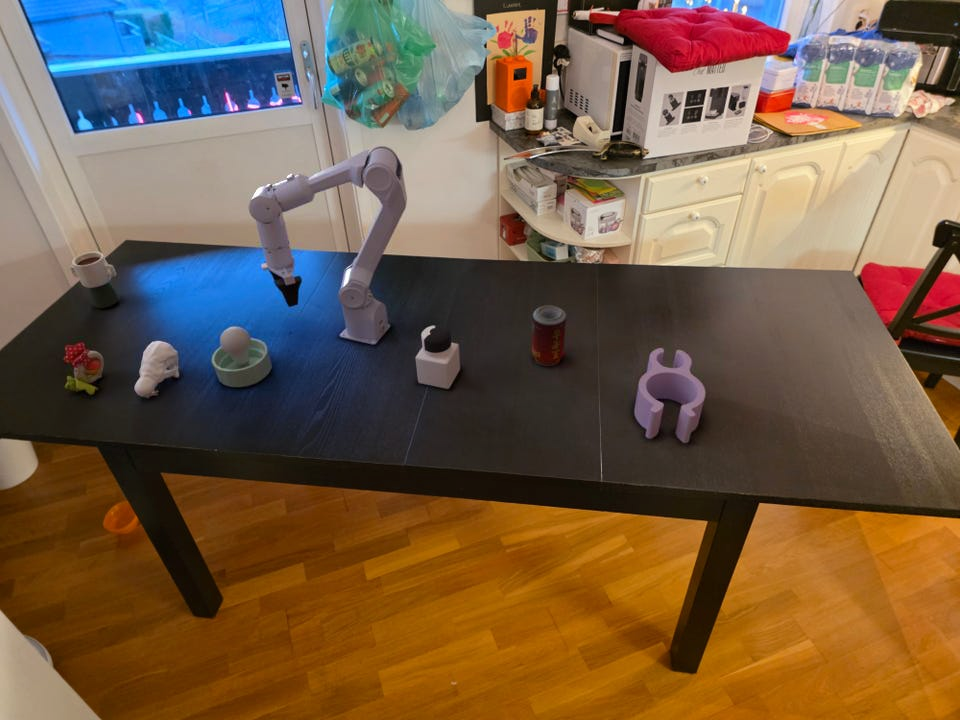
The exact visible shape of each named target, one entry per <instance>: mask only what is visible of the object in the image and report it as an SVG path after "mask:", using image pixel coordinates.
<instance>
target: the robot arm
mask: <svg viewBox="0 0 960 720" xmlns="http://www.w3.org/2000/svg"><path fill="white" fill-rule="evenodd" d="M403 169H404V168H403V164H402V162H401V159H399V157H398V155H397V153H396V152H395V151H394V150H393V149H392V148H390V147H389V146H386V145H378V146H375V147H373V148H371V150H369V149H366V150H362V151H361V152H359V153H357V154H355V155H353V156H351V157H349V158H347V159H345V160H342V161H340V162H339V163H337V164H334V165H332V166H330V167H328V168H326V169H323V170H321V171H319V172H317V173H315V174H314V175H313V174H312V175H311V176H307V175H305V174H301V173H299V174H297V175H295V174H294V173H291V174H288V175H287V176H286V179H285V180H282V181H279V182H277V183H275V184H272V183H269V184H267V185H263V186H261V187H258V188H257V189H256V191H255V192H254V193H253V196H252V198H251V199H250V201H249V204H248V212H249V214H250V216H251V217H252V218H253V219H254V220H255V223H256V229H257V232H258V236H259V239H260V244H261V247H262V248H261V249H262V252H263V255H264V259H265V261H264V262H262V263H261V264H260V268H261V269H262V271H268V272H269V274H270V275H271V276H272V279H273V283H274V285H275V287H276V288H277V289H278V291H279V292H281V294H282V296H283V298H284V301H285V303H286V305H287V306H288V308H291V307H296V306H298V305H299V294H300V293H299V291H300V287H301V284H302V282H303V279H302V276H301V275H297V276H295V275H294V272H295V263H296V260H295V258H294V257H293V252H292V248H291V243H290V239H289V234H288V230H287V226H286V221H285V218H284V214H283V213H286V212H289V211H291V210H294V209H297V208H299V207H301V206H304V205H306V204H309V203H312V202H313V201H314V199H315V196H316V194H317V193H321V192H324V191H326V190H330V189H333V188H336V187H338V186H341V185H344V184H347V183H351V184H353V185H355V186H356V187H358V188H360V189H363V188H364V186H365V187H366V188H367V189H368V190H369V191H370V192H371V193H372V194H373V195H374V196H375V197H376V198H377V199H378V200H379V202H380V207H379V209H378V211H377V213H376V215H375V217H374V219H373V222H372V224H371V225H370V228H369V230H368V232H367V234H366V237H365V239H364V241H363V243H362V245H361V247H360V249H359V251H358V254H357V255H356V257H355V258H354V259H353V261H352V263H351V264H350V265H348V266H347V267H346V268H345V269H344V271H343V273H342V281H341V285H340V289H339V290H338V293H337V296H338V298H337V299H338V301H339V303H340V304H341V308H342V313H343V319H344V324H345V329H343V330H342V332H341V333H340V334H339V337H340V338H343V339H346V340H351V341H356V342H359V343H365V344H369V345H373V346H374V345H376V344H377V343H378V342H379V341H380V340H381V338H382V337H383V336H384V335H385V334H386V332H388V330H389V329H390V328H391V325H390V324H389V321H388V313H387V307H386V304H384V303H383V302H381V301H379V300H377V299H376V298H375V297H374V295H373V293H372V292H371V290H370V284H371V282H372V279H373V275H374V273H375V271H376V269H377V267H378V264H379V263H380V261H381V258H382V257H383V254H384V253H385V251H386V249H387V247H388V245H389V243H390V240H391V239H392V237H393V235H394V233H395V230H396V228H397V226H398V224H399V223H400V220H401V218H402V217H403V214H404V212H405V210H406V209H407V208H406V207H407V204H408V203H407V202H408V196H407V189H406V185H405V178H404V170H403Z"/></svg>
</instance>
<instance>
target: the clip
mask: <svg viewBox="0 0 960 720" xmlns="http://www.w3.org/2000/svg"><path fill="white" fill-rule="evenodd" d="M664 353H665V349H664V348H662V347H659V348H655V349H654V350H652V352H650V354H649V358H648V362H647V369H646V372H645V373H644V374H643V375H642V376H641V377H640V378H639V380H638V386H637V392H636V398H635V405H634V409H633V411H634V412H633V413H634V416H635V419H636V421H637V422H638V424H639V425H640V426H641V427H642V428H643V429H645V430H646V431H645V438H647V439H649V440H652V439H653V438H654V437H656V436H657V435H658V433H659V430H660V426H661V420H662V417H663V411H664V406H665V404H664V403H663V402H662V401H659V399H663V400H664V399H665V400H671V401H674V402H677V403H679V404H681V406H680V411H679V415H678V419H677V424H676V429H675V432H674V433H675V436H676V437H677V439H679V441H681V442H682V443H683V444H687V443H689V442H690V439H691V434H692V433H693V432H694V431H695V430H696V429H697V428H698V425H699V422H700V418H701V414H702V409H703V407H704V402H705V398H706V388H705V386H704V384H703V383H702V382H701V381H700V380H699V379H698V378H697V377H696V376H694V374H692V373H691V367H692V364H693V363H692V358H691V356H690V355H689V354H688V353H687V352H685V351H683V350H682V349H677V350H676V351H675V356H674V360H673V366H672V367H666V366H664V365H662V364H663V359H664Z"/></svg>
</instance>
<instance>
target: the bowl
mask: <svg viewBox="0 0 960 720" xmlns="http://www.w3.org/2000/svg"><path fill="white" fill-rule="evenodd" d="M250 338H251V344H250V347H249V350H248V356H249V364H250V366H248V367H245V368H241V369H238V368H237V365H236V363H235V362H234V360H233V358H232V357H231V356H230V355H229V354H228V353H226V352H225V351H224V350H223V349H222V347H221V345H220V346H219V347H218V348H217V349H216V350H215V351H214V352H213V354H212V356H211V365H212V367H213V370H214V373H215V375H216V378H217V380H218V382H220V383H221V384H222V385H224V386H226V387H231V388H243V387H249V386H252V385H255V384H257V383H259V382H260V381H262V380H263V379H265V378H266V377H267V376H268V375H269V374H270V372H271V370H272V368H273V362H272V359H271V355H270V351H269V347H268V346H267V344H266V343H265V342H264V341H263V340H261V339H258V338H254V337H250Z"/></svg>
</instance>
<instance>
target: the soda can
mask: <svg viewBox="0 0 960 720" xmlns="http://www.w3.org/2000/svg"><path fill="white" fill-rule="evenodd" d="M566 322H567V314H566V312H565V310H563V309H562V308H560V307H558V306H556V305H548V304H547V305H543V306H540V307H538V308H536V309H535V310H534V311H533V313H532V327H531V328H532V329H531V332H532V334H531V353H532V356H533V357H534V360H535V362H536V363H537V364H539V365H541V366H547V367H549V366H550V367H551V366H554V365H557V364H559V363H560V361H561V358H563V356H564V353H565V340H566V325H567V323H566Z"/></svg>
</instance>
